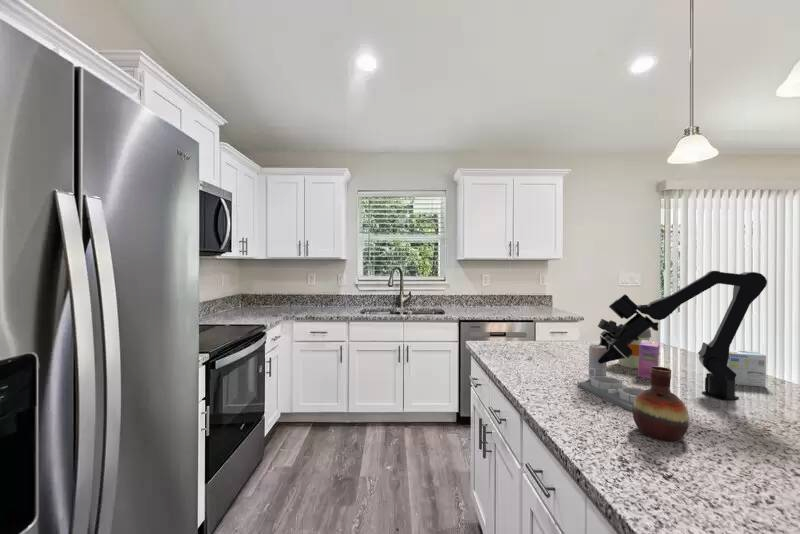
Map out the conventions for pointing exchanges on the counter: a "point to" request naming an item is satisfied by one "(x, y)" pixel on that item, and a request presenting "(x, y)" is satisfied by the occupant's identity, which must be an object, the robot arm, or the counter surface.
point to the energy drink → (596, 361)
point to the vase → (660, 409)
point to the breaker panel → (612, 390)
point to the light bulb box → (748, 367)
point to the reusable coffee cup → (635, 351)
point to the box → (647, 357)
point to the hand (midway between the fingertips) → (595, 359)
